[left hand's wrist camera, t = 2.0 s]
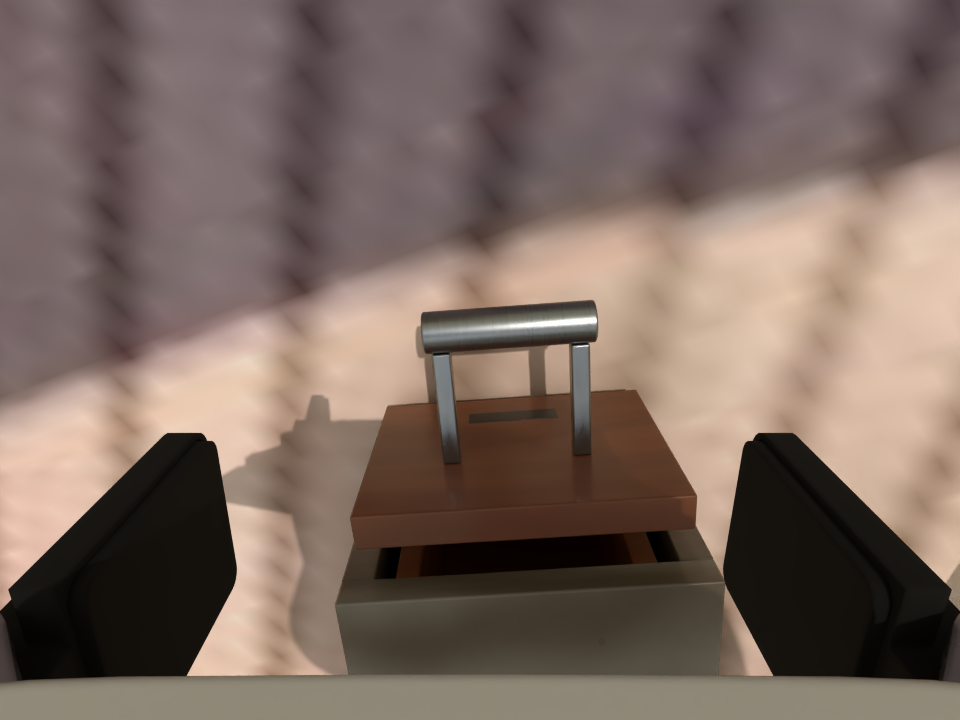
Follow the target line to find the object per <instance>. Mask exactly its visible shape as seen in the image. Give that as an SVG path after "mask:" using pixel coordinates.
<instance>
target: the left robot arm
mask: <svg viewBox="0 0 960 720" xmlns="http://www.w3.org/2000/svg"><path fill="white" fill-rule="evenodd" d="M236 575H237V565H236V559H235V553H234V547H233V541H232V535H231V529H230V523H229V517H228V511H227V505H226V499H225V493H224V487H223V481H222V475H221V470H220V464H219V458H218V452H217V447H216V445H215V443H214V442H213V441H207V439H206V438H205V436H204V435H203V434H202V433H167V434H165V435H164V436H163V437H162V438H161V439H160V440H159V441H158V442H157V443H156V444H155V445H154V446H153V447H152V448H151V449H150V450H149V451H148V452H147V453H146V454H145V455H144V456H143V457H142V458H141V459H140V460H139V461H138V462H137V463H136V464H135V465H134V466H133V467H132V468H131V469H129V470H128V471H127V472H126V473H125V474H124V475H123V476H122V477H121V478H120V479H119V480H118V481H117V482H116V483H115V484H114V485H113V486H112V487H111V488H110V489H109V490H108V491H107V492H106V493H105V494H104V495H103V496H102V497H101V498H100V499H99V500H98V501H97V502H96V503H95V504H94V505H93V506H92V507H91V508H90V509H89V510H88V511H87V512H86V513H85V514H84V515H83V516H82V517H81V518H80V519H79V520H78V521H77V522H76V523H75V524H74V525H73V526H72V527H71V528H70V529H69V530H68V531H67V532H66V533H65V534H64V535H63V536H62V537H61V538H60V539H59V540H58V541H57V542H56V543H55V544H54V545H53V546H52V547H51V548H50V549H49V550H48V551H47V552H46V553H45V554H44V555H43V556H42V557H41V558H40V559H39V560H38V561H37V562H36V563H35V564H34V565H33V566H32V567H31V568H30V569H29V570H28V571H27V572H26V573H25V574H24V575H23V576H22V577H21V578H20V579H19V580H18V581H17V582H16V583H14V584H13V585H12V586H11V587H10V588H9V589H8V590H9V593H10V596H11V600H10V601H9V602H8V603H7V605H6V606H5V607H4V608H3V609H2V610H1V611H0V720H960V611H959V610H958V609H957V608H956V607H955V606H954V605H953V603H952V602H951V601H950V600H949V596H950V593H951V590H952V589H951V588H950V587H949V586H948V585H947V584H946V583H944V582H943V581H942V580H941V579H940V578H939V577H938V576H937V575H936V574H935V573H934V572H933V571H932V570H931V569H930V568H929V567H928V566H927V565H926V564H925V563H924V562H923V561H922V560H921V559H920V558H919V557H918V556H917V555H916V554H915V553H914V552H913V551H912V550H911V549H910V548H909V547H908V546H907V545H906V544H905V543H904V542H903V541H902V540H901V539H900V538H899V537H898V536H897V535H896V534H895V533H894V532H893V531H892V530H891V529H890V528H889V527H888V526H887V525H886V524H885V523H884V522H883V521H882V520H881V519H880V518H879V517H878V516H877V515H876V514H875V513H874V512H873V511H872V510H871V509H870V508H869V507H868V506H867V505H866V504H865V503H864V502H863V501H862V500H861V499H860V498H859V497H858V496H857V495H856V494H855V493H854V492H853V491H852V490H851V489H850V488H849V487H848V486H847V485H846V484H845V483H844V482H843V481H842V480H841V479H840V478H839V477H838V476H837V475H836V474H835V473H834V472H833V471H832V470H831V469H829V468H828V467H827V466H826V465H825V464H824V463H823V462H822V461H821V460H820V459H819V458H818V457H817V456H816V455H815V454H814V453H813V452H812V451H811V450H810V449H809V448H808V447H807V446H806V445H805V444H804V443H803V442H802V441H801V440H800V439H799V438H798V437H797V436H796V435H795V434H793V433H758V434H757V435H756V436H755V438H754V439H753V441H747V442H746V443H745V445H744V447H743V452H742V458H741V464H740V469H739V475H738V481H737V487H736V493H735V499H734V505H733V511H732V517H731V523H730V529H729V535H728V541H727V547H726V553H725V559H724V565H723V575H724V581H725V584H726V587H727V589H728V591H729V593H730V595H731V597H732V599H733V600H734V602H735V604H736V606H737V608H738V610H739V612H740V614H741V616H742V617H743V619H744V621H745V623H746V625H747V627H748V629H749V631H750V632H751V634H752V636H753V638H754V640H755V642H756V644H757V646H758V648H759V649H760V651H761V653H762V655H763V657H764V659H765V661H766V663H767V665H768V666H769V668H770V670H771V672H772V674H773V676H695V675H269V676H187V674H188V672H189V670H190V668H191V666H192V665H193V663H194V661H195V659H196V657H197V655H198V653H199V651H200V649H201V648H202V646H203V644H204V642H205V640H206V638H207V636H208V634H209V632H210V631H211V629H212V627H213V625H214V623H215V621H216V619H217V617H218V615H219V614H220V612H221V610H222V608H223V606H224V604H225V602H226V600H227V599H228V597H229V595H230V593H231V591H232V589H233V587H234V584H235V581H236Z"/></svg>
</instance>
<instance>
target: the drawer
mask: <svg viewBox="0 0 960 720" xmlns="http://www.w3.org/2000/svg"><path fill="white" fill-rule="evenodd" d="M421 336H422V344H423V349H424V352H425V353H426V354H432V364H433V374H434V383H435V392H436V401H437V403H436V404H421V405H406V406H392V407H387V409H386V412H385V415H384V418H383V421H382V424H381V427H380V430H379V433H378V436H377V439H376V442H375V445H374V448H373V451H372V454H371V457H370V460H369V463H368V466H367V469H366V472H365V475H364V478H363V481H362V484H361V487H360V490H359V493H358V496H357V499H356V502H355V505H354V508H353V511H352V514H351V517H350V520H351V526H352V531H353V537H354V543H355V548H356V549H357V550H360V549H376V548H393V547H401V552H400V557H399V563H398V568H397V573H396V578H410V577H427V576H444V575H460V574H477V573H494V572H510V571H527V570H544V569H560V568H577V567H594V566H610V565H627V564H644V563H658V562H657V560H656V557H655V555H654V552H653V550H652V547H651V545H650V542H649V540H648V537H647V535H646V532H653V531H669V530H685V529H695V526H696V507H697V495H696V493H695V491H694V490H693V488H692V486H691V484H690V483H689V481H688V479H687V477H686V476H685V474H684V472H683V471H682V469H681V467H680V465H679V464H678V462H677V460H676V458H675V457H674V455H673V453H672V452H671V450H670V448H669V446H668V445H667V443H666V441H665V439H664V438H663V436H662V434H661V433H660V431H659V429H658V427H657V426H656V424H655V422H654V420H653V419H652V417H651V415H650V413H649V412H648V410H647V408H646V407H645V405H644V403H643V401H642V400H641V398H640V396H639V394H638V393H637V391H636V390H627V391H612V392H597V393H591V386H590V345H589V343H588V342H596V340H597V337H598V316H597V309H596V305H595V302H594V301H593V300H585V301H571V302H557V303H543V304H529V305H515V306H502V307H488V308H474V309H460V310H446V311H433V312H423V313H422V315H421ZM559 344H569V363H570V394H568V395H553V396H538V397H524V398H509V399H494V400H480V401H465V402H456V395H455V385H454V374H453V364H452V354H451V352H460V351H474V350H489V349H503V348H517V347H531V346H545V345H559Z"/></svg>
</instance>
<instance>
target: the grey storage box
mask: <svg viewBox="0 0 960 720" xmlns="http://www.w3.org/2000/svg"><path fill="white" fill-rule="evenodd" d="M646 535H647V537H648V540H649V542H650V545H651V547H652V550H653V552H654V555H655V557H656V560H657V562H658V563H644V564H627V565H610V566H594V567H577V568H560V569H544V570H527V571H510V572H494V573H477V574H460V575H444V576H427V577H410V578H396V573H397V568H398V563H399V557H400V552H401V547H393V548H376V549H360V550H357V549H356V548H355V543H354V544H353V547H352V550H351V553H350V557H349V560H348V563H347V566H346V570H345V573H344V576H343V580H342V584H341V587H340V590H339V593H338V597H337V600H336V603H335V608H336V613H337V618H338V623H339V628H340V633H341V638H342V643H343V648H344V653H345V659H346V664H347V669H348V674H349V675H695V676H718V671H719V658H720V645H721V632H722V619H723V606H724V593H725V581H724V578H723V576H722V575H721V573H720V571H719V569H718V567H717V565H716V563H715V561H714V560H713V557H712V555H711V554H710V552H709V550H708V548H707V546H706V544H705V542H704V540H703V538H702V537H701V535H700V533H699V531H698V529H697V527H696V526H695V529H685V530H669V531H653V532H646Z"/></svg>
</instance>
